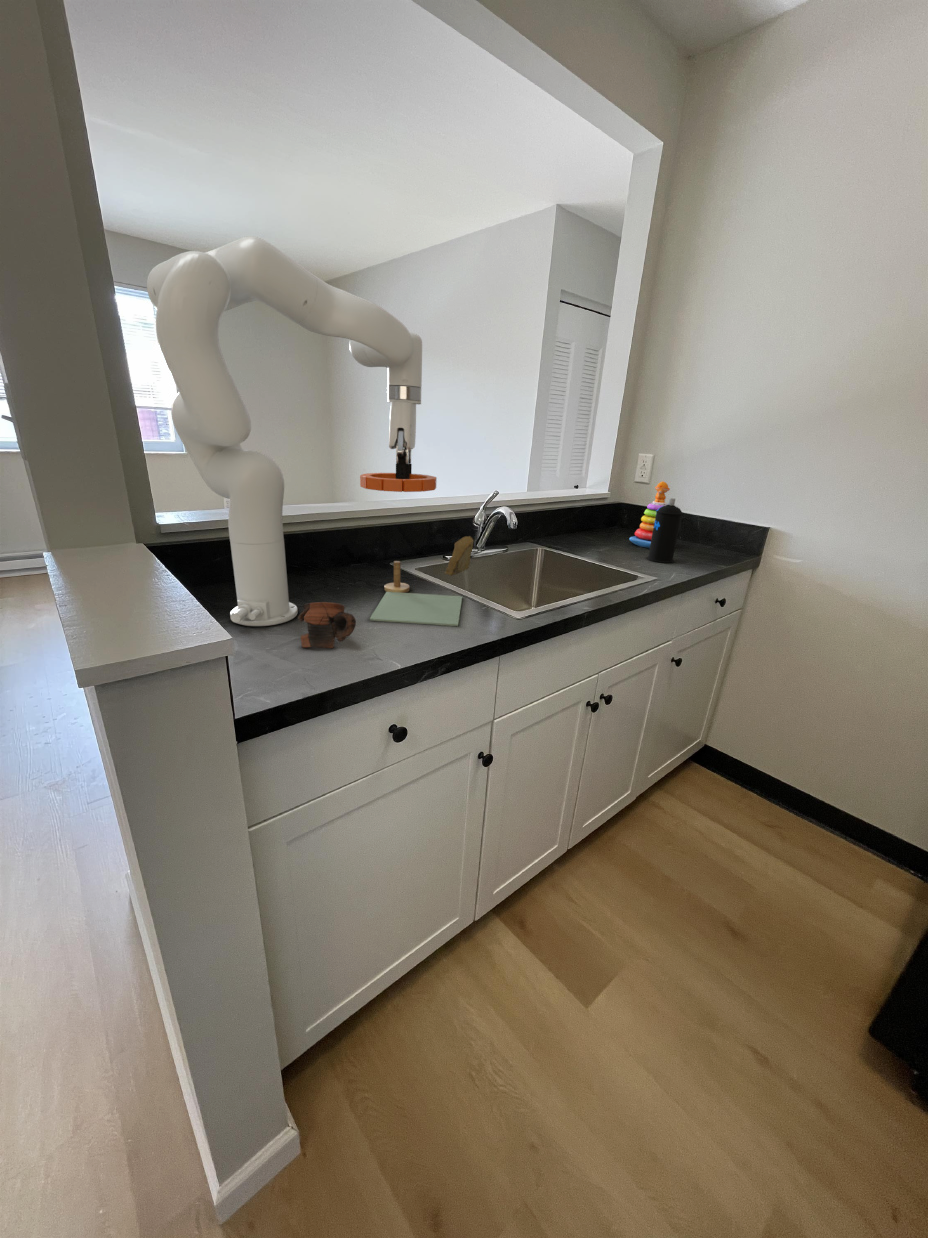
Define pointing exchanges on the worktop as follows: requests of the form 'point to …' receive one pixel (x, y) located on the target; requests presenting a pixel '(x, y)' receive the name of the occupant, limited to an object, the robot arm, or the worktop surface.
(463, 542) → the rock
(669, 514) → the aerosol can
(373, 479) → the ring
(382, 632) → the worktop surface
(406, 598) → the mat
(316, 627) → the pottery mug
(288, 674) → the worktop surface
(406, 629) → the worktop surface
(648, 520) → the stacking toy
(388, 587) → the wooden peg disc
